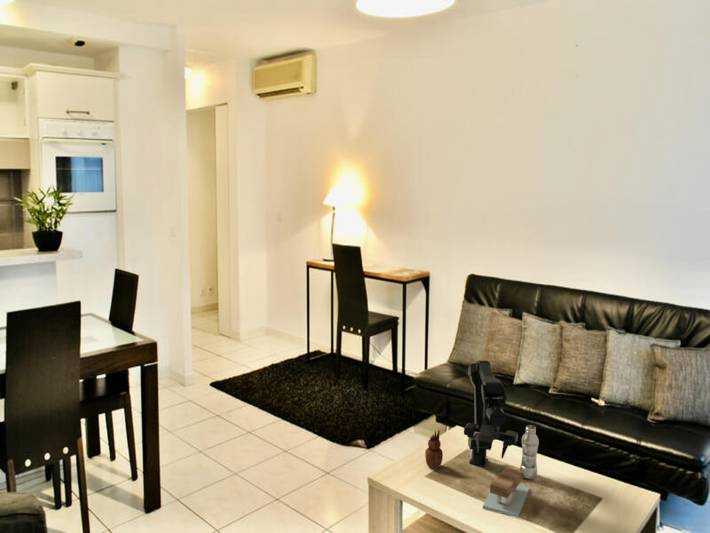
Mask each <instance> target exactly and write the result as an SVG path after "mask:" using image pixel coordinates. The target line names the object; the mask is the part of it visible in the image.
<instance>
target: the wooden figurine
mask: <svg viewBox="0 0 710 533" xmlns="http://www.w3.org/2000/svg"><path fill="white" fill-rule="evenodd" d="M441 445H442V444H441V440H440V429H438V431H434V434H432V436H430V438H429V440H427V446H428V447H427V448H426V449H425V462H426V465H427V467H429V468H431V469H438V468H440V466H441V465H442V462H443V456H444V455H443V449H441Z"/></svg>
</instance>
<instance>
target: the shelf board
mask: <svg viewBox="0 0 710 533" xmlns="http://www.w3.org/2000/svg"><path fill="white" fill-rule="evenodd" d="M523 476H524V471H520V469H517V468H513V467H510V466H507V467H506V468H505V469H504V470H503V471H502V472H501V473H500V474H499V475H498V476H497V477H496V478H495V479H494V480H493V481H492V482H491V483H490V485H489V493H493V494H496V495H499V496H502V497H505V498H507V497H508V496H509V495H510V494H511V493H512V491H513V490H514V489H515V488H516V487H517V486H518V485H520V484H521V482H522V481H524V477H523Z"/></svg>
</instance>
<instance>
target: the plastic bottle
mask: <svg viewBox="0 0 710 533" xmlns="http://www.w3.org/2000/svg"><path fill="white" fill-rule="evenodd" d="M536 428H537V427H536V425H531V424H528V425H526V426H525V433H524V434H523V435H522V437H521V447H522V450H521V452H522V457H521V464H520V467H519V470H520V471H524V476H523V479H524V478H525V479H527V480H533V479H535V478H536V477H537V475H538V466H537V464H538V463H537V457H538V454H537V453H538V448H539V443H540V441H539V440H540V439H539V438H538V435H537V434H536V433H537V431H536V430H537V429H536Z"/></svg>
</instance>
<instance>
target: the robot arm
mask: <svg viewBox="0 0 710 533" xmlns="http://www.w3.org/2000/svg"><path fill="white" fill-rule="evenodd" d="M467 373H468V377H469V381H470V382H471V385H472V386H473V397H474V399H473V401H474V403H473V404H474V410H473V411H474V423H472V422H468V423H467V424H466V425H465V426H464V427H463V435H465V436H467V438H468V439H467V445H468V448H469V450H471V458H470V460H469V462H468V463H469V464H471V465H474V466H478V467H479V466H480V467H486V466H487V464H488V462H489V458H487V451H491V450H492V448H493V442H494V441H495V440H499V439H503V442H502V450H501V459H504V457H505V454H506V452H507V449H508V447H511V446H514V445H516V443H517V442H518V439H519V433H518V432H517V431H513V430H509V429H507V430H506V431H505V432H502V431H501V432H500V427H501V426H503V425H504V424H505V423H506V421H507V415H506V413H505V412H504V410H503V407H502V405H506V404H507V403H506V402H507V399H508V398H507V393H506V392H507V391H506V389H505V385H504V384H503V383H502V381H501V380H500V379H499V378H496V377H495V375H494V373H493V370H492V365H491V363H490V360H476V362H473V363H471V364H470V365H469V366H468V370H467Z"/></svg>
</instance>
